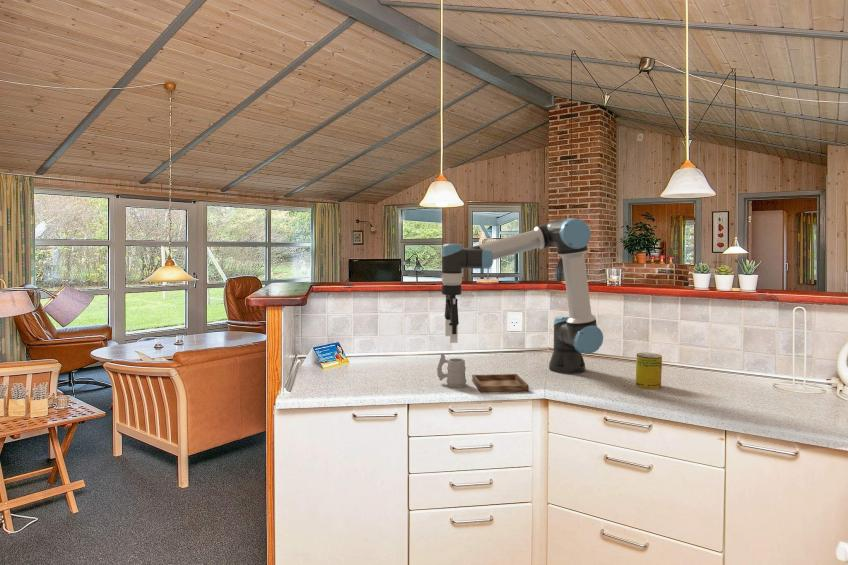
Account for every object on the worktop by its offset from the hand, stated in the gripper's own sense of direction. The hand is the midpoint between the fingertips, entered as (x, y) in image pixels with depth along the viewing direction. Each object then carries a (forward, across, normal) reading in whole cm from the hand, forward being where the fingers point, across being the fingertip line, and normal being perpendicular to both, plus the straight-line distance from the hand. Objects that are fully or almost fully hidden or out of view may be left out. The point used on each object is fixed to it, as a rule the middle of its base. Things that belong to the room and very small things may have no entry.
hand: (451, 339), depth 213 cm
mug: (+18, 0, 0) cm, 18 cm away
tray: (+18, +4, +18) cm, 26 cm away
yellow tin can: (+18, +9, +75) cm, 78 cm away
